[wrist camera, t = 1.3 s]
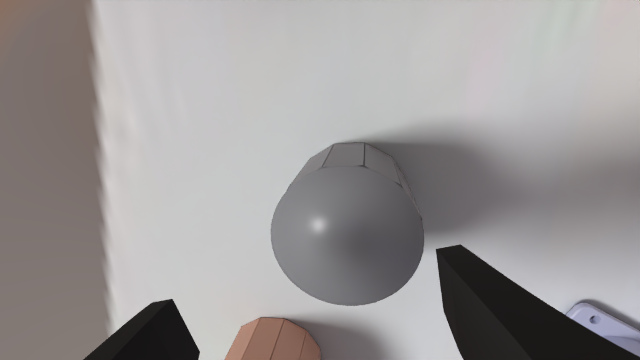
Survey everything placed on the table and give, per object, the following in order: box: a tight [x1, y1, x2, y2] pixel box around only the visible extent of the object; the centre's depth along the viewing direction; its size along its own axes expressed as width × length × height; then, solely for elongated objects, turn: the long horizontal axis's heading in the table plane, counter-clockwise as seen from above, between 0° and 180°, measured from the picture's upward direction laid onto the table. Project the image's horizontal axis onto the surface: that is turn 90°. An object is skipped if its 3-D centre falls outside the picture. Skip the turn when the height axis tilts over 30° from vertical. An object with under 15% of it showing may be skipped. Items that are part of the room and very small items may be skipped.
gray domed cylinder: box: [271, 143, 424, 306], centre depth 15 cm, size 6×6×5 cm
